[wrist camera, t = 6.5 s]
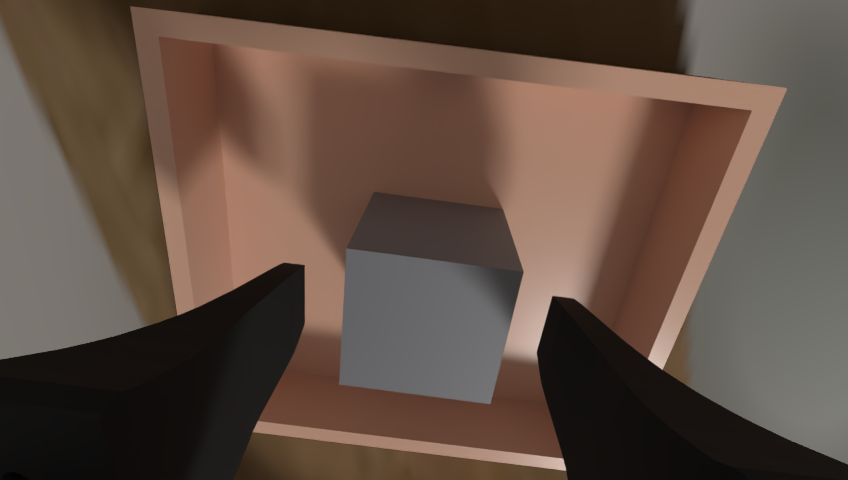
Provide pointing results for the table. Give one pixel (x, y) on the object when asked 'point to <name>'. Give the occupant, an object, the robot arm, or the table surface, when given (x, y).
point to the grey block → (428, 298)
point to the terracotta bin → (437, 196)
